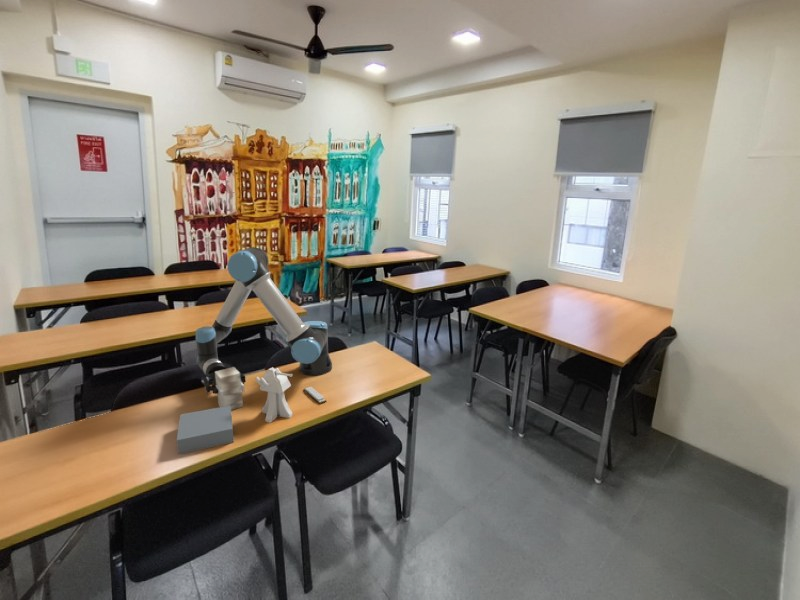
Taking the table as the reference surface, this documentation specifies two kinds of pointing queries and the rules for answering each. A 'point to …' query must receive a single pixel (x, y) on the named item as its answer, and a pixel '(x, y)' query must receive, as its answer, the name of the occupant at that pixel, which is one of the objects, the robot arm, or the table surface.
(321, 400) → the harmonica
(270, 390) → the white mech figurine
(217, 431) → the slate plinth
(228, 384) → the tall block
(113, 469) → the table surface
